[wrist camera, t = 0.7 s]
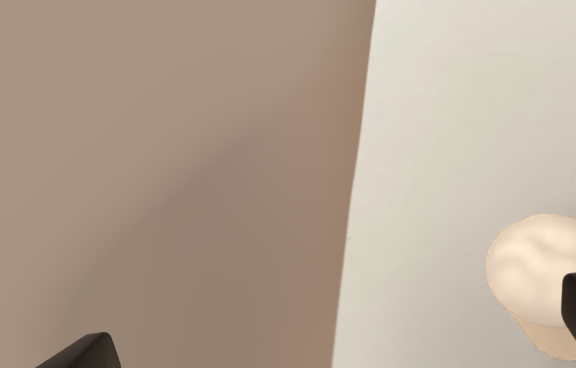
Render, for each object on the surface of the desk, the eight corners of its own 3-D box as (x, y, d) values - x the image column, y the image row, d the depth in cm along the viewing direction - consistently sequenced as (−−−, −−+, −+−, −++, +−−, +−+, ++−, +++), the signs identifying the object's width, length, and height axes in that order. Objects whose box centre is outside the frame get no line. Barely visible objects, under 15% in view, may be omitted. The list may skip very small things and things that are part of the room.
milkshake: (603, 410, 19) (606, 355, 12) (494, 335, 23) (451, 262, 16) (657, 332, 20) (689, 237, 13) (542, 271, 23) (519, 174, 17)
